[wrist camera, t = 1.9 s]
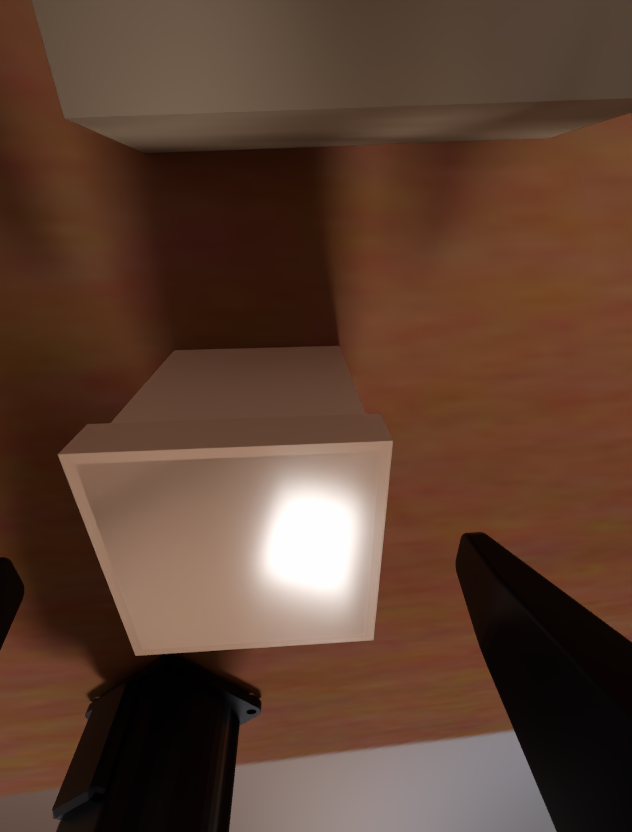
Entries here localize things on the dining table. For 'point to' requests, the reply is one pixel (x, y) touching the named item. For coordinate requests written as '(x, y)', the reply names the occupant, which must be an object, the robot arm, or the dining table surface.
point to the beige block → (335, 70)
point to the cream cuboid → (238, 502)
